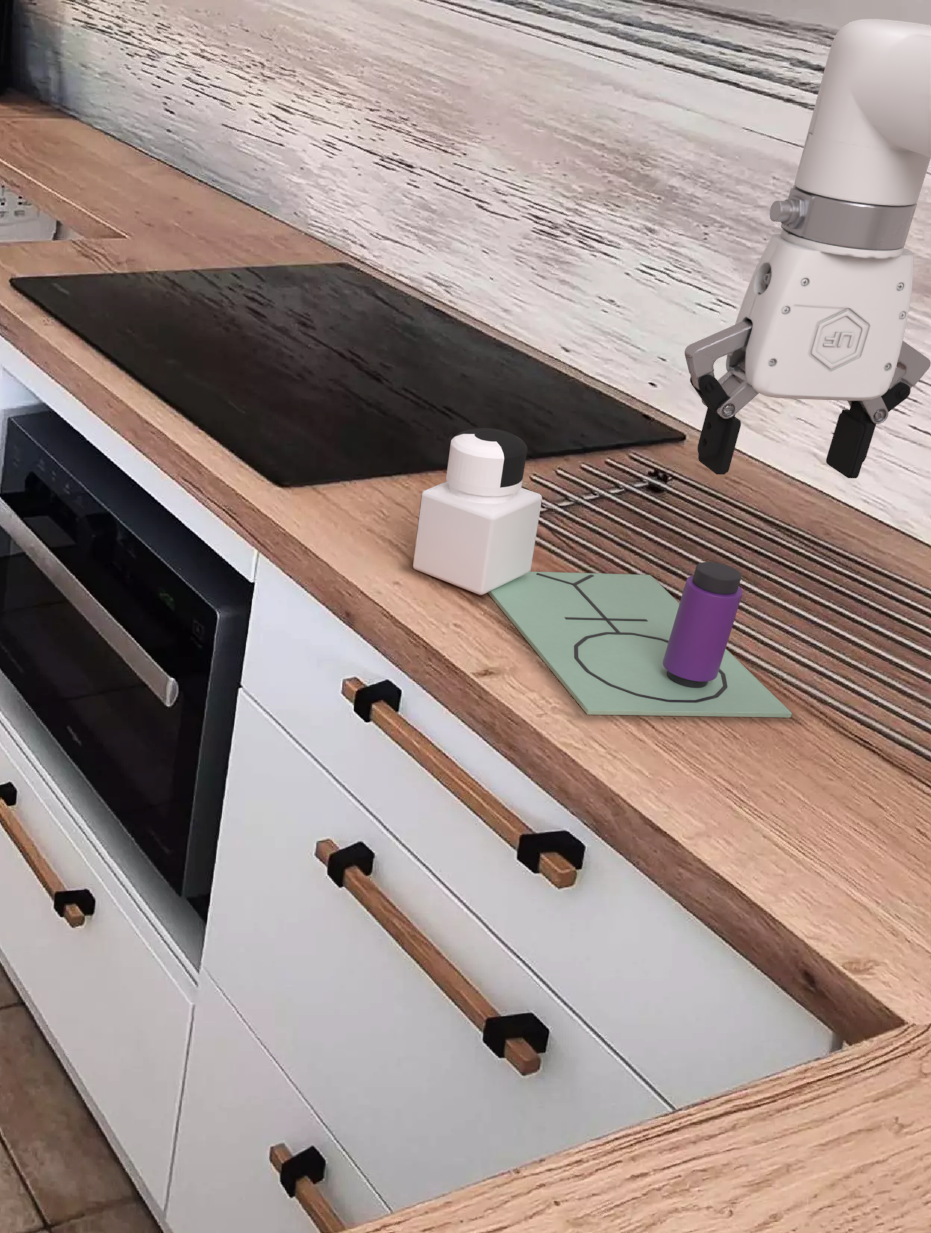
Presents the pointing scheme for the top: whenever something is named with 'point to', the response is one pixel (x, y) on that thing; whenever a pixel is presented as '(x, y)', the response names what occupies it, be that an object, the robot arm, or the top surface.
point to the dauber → (703, 624)
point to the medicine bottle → (479, 514)
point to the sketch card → (621, 647)
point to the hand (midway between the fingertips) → (776, 469)
